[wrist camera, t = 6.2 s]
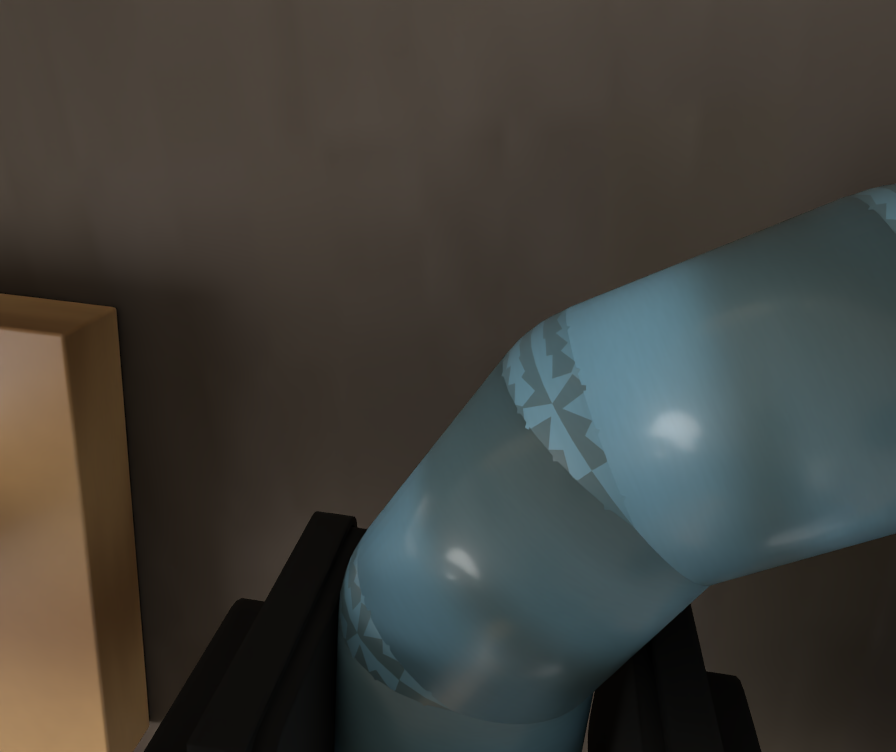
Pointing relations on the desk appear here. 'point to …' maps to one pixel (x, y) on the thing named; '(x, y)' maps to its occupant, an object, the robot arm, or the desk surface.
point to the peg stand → (66, 535)
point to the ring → (626, 485)
